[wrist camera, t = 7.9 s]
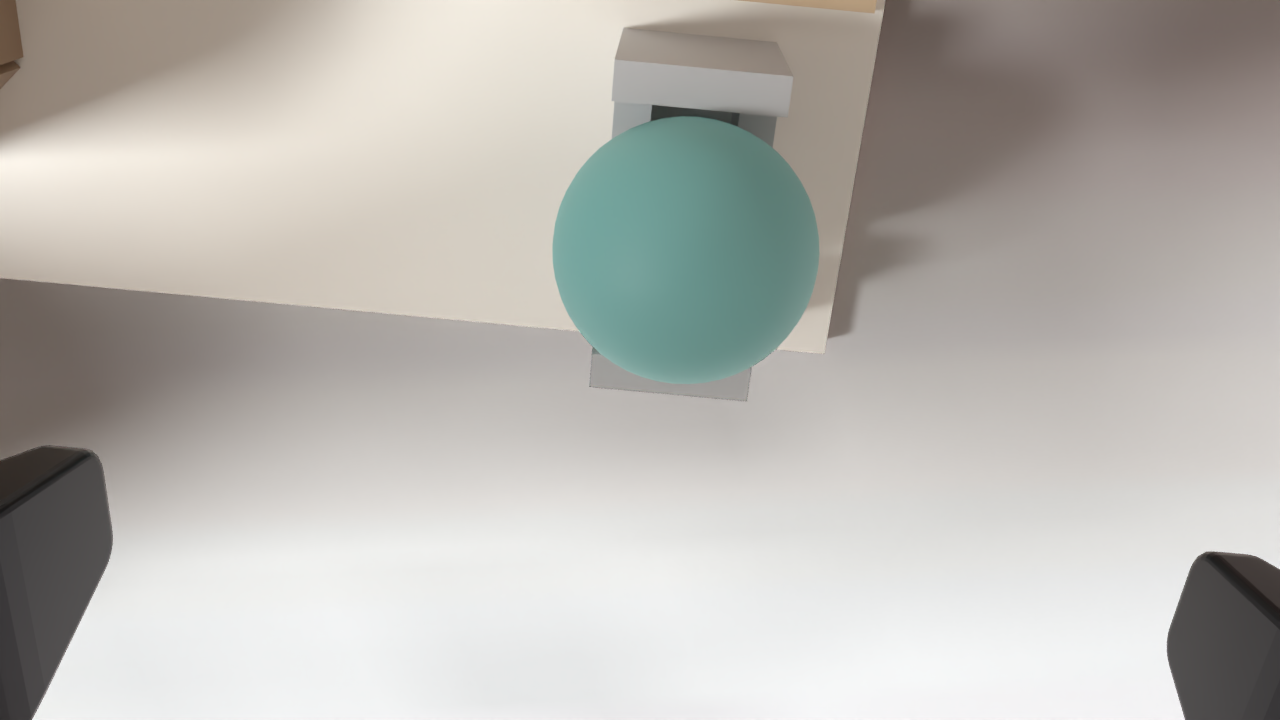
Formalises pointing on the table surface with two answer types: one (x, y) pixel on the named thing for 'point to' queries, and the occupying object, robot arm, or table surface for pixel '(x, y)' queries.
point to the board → (394, 142)
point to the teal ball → (685, 250)
